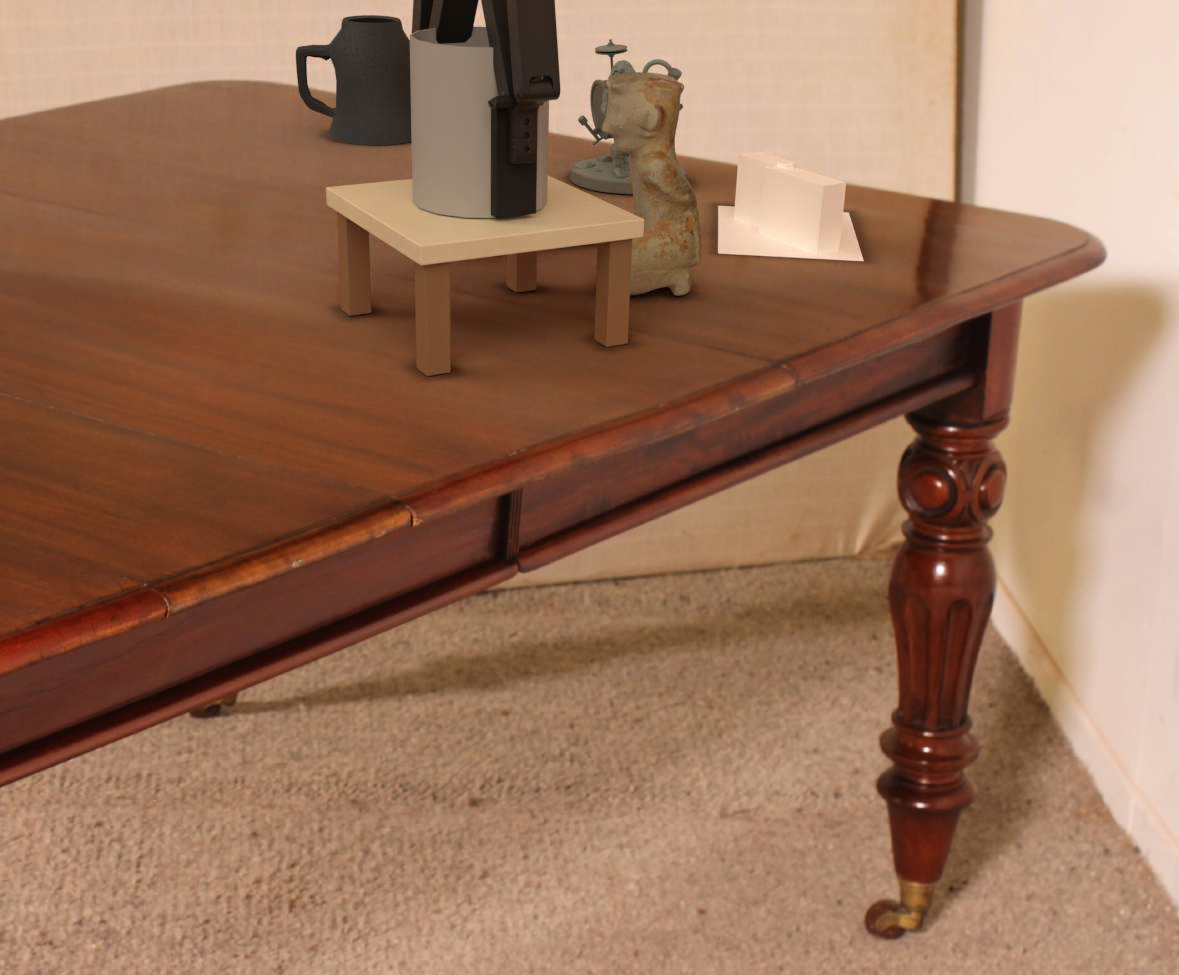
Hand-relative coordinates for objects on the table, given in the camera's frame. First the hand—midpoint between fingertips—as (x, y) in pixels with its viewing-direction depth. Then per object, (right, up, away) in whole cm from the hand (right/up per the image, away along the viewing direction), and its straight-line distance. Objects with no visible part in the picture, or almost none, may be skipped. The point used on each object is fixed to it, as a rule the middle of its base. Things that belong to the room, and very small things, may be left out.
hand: (481, 197), depth 94 cm
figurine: (+10, +9, +42) cm, 44 cm away
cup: (0, 0, 0) cm, 0 cm away
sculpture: (+11, -5, +12) cm, 17 cm away
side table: (0, -8, +4) cm, 8 cm away
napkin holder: (+23, +2, +27) cm, 36 cm away
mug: (-16, +17, +56) cm, 61 cm away
